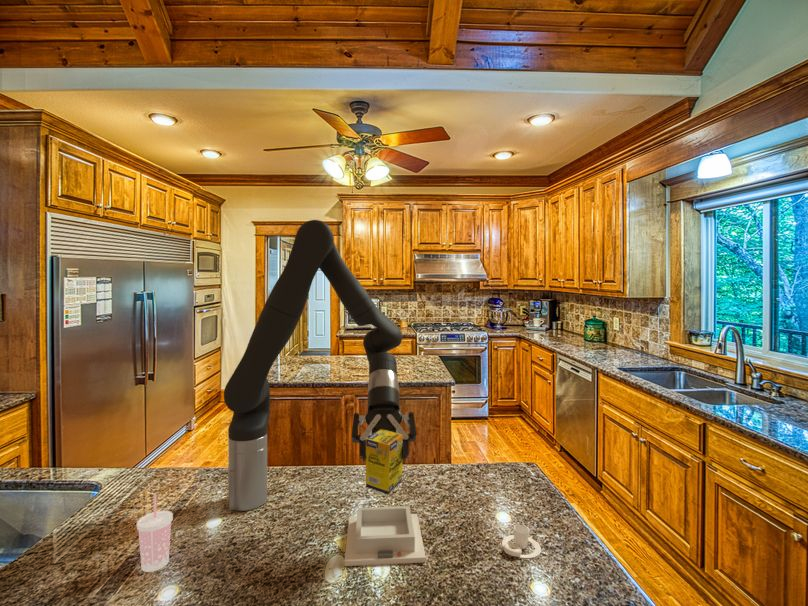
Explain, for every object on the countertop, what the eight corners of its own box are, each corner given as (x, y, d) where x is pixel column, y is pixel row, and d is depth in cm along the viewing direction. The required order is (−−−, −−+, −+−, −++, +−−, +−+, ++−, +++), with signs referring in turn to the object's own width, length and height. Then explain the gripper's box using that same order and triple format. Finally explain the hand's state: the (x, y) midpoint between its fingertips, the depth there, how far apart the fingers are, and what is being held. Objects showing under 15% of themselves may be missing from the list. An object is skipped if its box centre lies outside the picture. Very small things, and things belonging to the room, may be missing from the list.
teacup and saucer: (510, 564, 80) (510, 543, 80) (491, 540, 88) (491, 522, 87) (549, 557, 82) (549, 537, 82) (527, 534, 90) (527, 516, 90)
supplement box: (388, 495, 83) (389, 445, 81) (365, 487, 86) (364, 438, 84) (403, 481, 88) (403, 434, 87) (380, 474, 91) (380, 428, 89)
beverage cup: (176, 551, 83) (176, 484, 83) (169, 570, 77) (168, 498, 77) (142, 557, 81) (141, 488, 81) (132, 577, 75) (131, 503, 75)
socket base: (344, 566, 78) (344, 545, 78) (349, 520, 94) (349, 503, 94) (425, 562, 80) (425, 542, 80) (417, 517, 96) (417, 501, 95)
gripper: (353, 384, 93) (350, 453, 82) (413, 384, 94) (419, 451, 83) (354, 401, 99) (351, 467, 88) (411, 400, 100) (416, 465, 89)
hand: (384, 459), depth 85 cm, fingers closed on supplement box, 8 cm apart
